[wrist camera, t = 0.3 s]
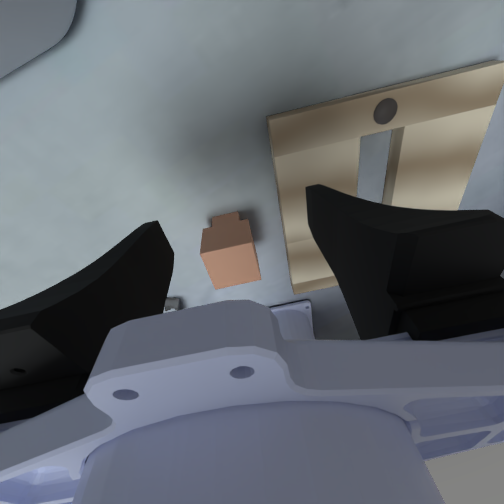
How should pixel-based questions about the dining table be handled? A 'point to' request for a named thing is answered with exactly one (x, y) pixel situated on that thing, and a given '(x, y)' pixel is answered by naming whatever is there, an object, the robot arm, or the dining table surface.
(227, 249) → the slider block
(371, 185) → the dining table surface
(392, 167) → the keyhole board
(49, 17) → the plastic bottle
